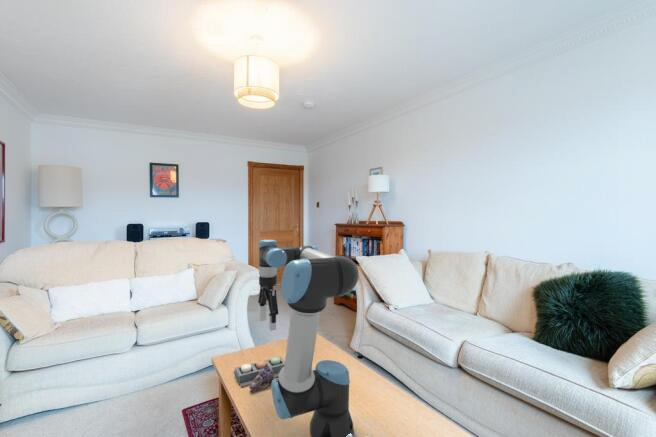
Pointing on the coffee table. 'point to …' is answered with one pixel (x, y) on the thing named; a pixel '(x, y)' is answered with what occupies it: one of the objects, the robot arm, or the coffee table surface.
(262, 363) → the button terracotta
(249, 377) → the button panel
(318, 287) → the robot arm
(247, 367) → the button cream
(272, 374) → the purple lumpy piece
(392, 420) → the coffee table surface
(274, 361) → the button sage
